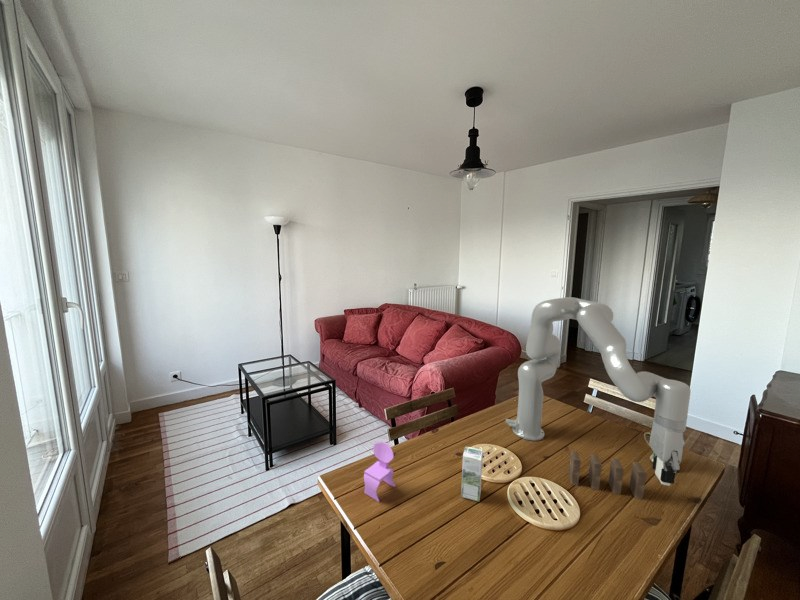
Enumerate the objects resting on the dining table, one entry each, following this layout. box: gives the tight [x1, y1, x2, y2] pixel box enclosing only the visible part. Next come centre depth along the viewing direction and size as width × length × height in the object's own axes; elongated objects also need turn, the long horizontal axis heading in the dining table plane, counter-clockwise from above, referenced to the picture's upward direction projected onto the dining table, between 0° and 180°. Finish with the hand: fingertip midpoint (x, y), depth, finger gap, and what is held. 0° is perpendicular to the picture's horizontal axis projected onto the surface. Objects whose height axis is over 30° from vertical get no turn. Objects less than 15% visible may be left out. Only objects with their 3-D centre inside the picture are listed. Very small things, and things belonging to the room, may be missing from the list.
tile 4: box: [568, 450, 582, 487], centre depth 109 cm, size 2×5×9 cm, turn 162°
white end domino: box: [654, 457, 672, 487], centre depth 100 cm, size 2×5×9 cm, turn 161°
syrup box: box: [460, 446, 484, 503], centre depth 102 cm, size 6×6×14 cm
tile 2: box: [608, 457, 625, 496], centre depth 105 cm, size 2×5×9 cm, turn 161°
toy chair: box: [363, 441, 396, 503], centre depth 103 cm, size 8×9×15 cm
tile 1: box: [629, 461, 647, 500], centre depth 103 cm, size 2×5×9 cm, turn 161°
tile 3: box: [587, 453, 603, 491], centre depth 107 cm, size 2×5×9 cm, turn 161°
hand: (662, 475), depth 101 cm, fingers closed on white end domino, 5 cm apart
